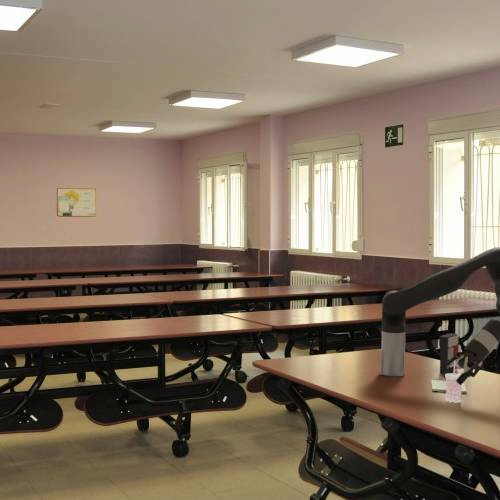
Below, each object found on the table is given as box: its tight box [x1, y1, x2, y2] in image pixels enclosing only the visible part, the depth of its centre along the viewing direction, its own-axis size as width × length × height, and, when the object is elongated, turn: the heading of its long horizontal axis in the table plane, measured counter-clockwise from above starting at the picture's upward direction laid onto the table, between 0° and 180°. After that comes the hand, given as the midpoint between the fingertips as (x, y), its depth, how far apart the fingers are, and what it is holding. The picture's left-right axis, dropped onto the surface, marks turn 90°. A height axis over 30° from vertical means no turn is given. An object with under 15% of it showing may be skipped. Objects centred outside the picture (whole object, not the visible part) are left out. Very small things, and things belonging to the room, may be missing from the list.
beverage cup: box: [445, 360, 462, 404], centre depth 249 cm, size 6×6×14 cm
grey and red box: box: [438, 332, 459, 375], centre depth 297 cm, size 11×4×15 cm, turn 143°
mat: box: [431, 378, 467, 395], centre depth 270 cm, size 12×18×1 cm, turn 167°
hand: (451, 380), depth 249 cm, fingers open, 8 cm apart
